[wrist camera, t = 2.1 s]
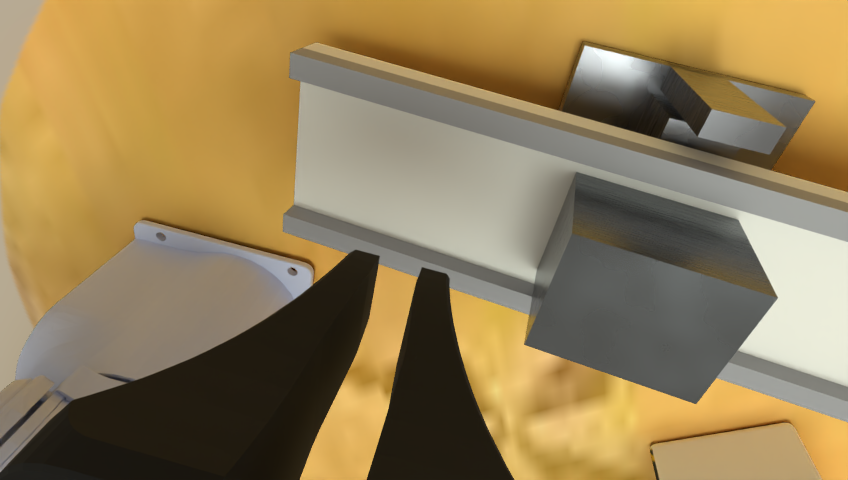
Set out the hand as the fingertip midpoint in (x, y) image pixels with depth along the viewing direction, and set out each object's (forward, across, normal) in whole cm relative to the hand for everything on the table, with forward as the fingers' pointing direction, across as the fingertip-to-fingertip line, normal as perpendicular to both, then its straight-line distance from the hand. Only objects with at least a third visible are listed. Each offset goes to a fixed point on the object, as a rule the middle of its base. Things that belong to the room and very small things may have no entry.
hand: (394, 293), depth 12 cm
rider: (+6, -7, 0) cm, 9 cm away
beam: (+8, -8, 0) cm, 12 cm away
